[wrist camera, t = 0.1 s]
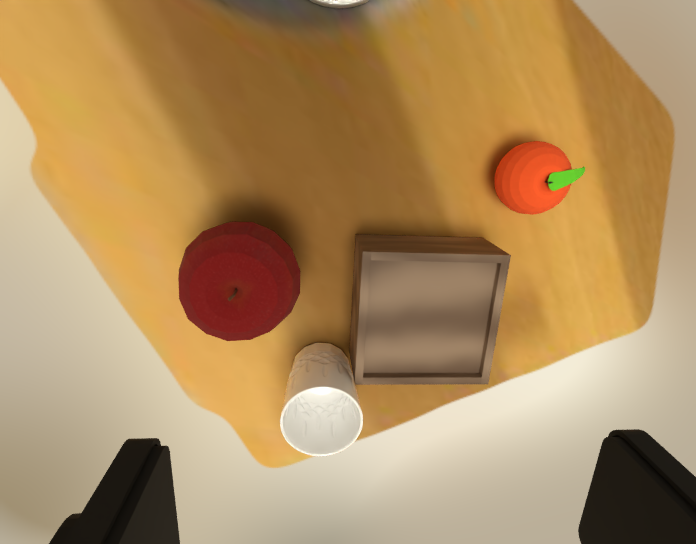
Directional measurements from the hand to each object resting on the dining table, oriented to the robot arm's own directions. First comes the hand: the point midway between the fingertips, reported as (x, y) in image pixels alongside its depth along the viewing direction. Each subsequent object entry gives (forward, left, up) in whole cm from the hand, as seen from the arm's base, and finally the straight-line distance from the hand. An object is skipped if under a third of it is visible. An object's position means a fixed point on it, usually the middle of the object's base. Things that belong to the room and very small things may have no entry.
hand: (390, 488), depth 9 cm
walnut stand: (+10, +10, -37) cm, 39 cm away
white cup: (+19, 0, -37) cm, 42 cm away
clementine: (-4, +20, -37) cm, 42 cm away
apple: (+6, -8, -37) cm, 38 cm away
